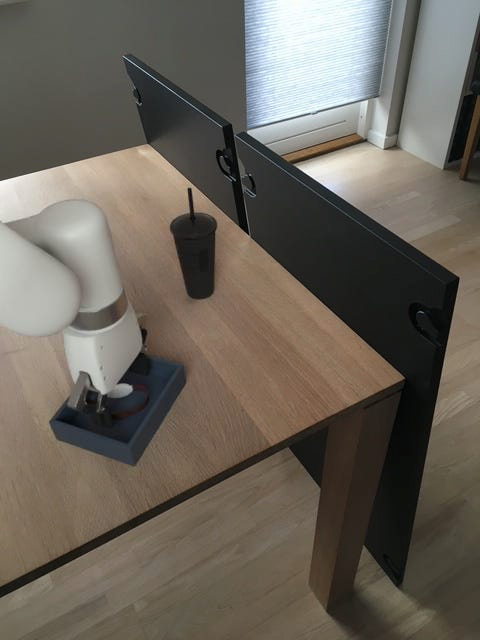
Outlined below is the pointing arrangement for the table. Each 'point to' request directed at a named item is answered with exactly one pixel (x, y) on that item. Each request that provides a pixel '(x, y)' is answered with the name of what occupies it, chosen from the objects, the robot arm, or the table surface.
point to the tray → (130, 432)
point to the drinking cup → (196, 250)
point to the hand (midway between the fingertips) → (122, 397)
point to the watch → (122, 391)
